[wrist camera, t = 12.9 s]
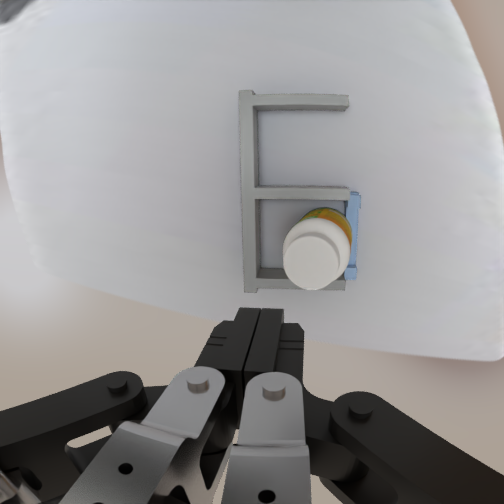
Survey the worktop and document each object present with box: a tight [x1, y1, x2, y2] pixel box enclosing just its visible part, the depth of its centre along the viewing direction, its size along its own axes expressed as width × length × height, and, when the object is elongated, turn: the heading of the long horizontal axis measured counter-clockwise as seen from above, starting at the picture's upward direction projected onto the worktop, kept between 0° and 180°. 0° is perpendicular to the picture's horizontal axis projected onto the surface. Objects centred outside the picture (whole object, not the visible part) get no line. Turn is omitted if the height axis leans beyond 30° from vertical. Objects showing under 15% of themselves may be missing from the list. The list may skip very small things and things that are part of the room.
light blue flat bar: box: [343, 192, 361, 280], centre depth 30 cm, size 8×1×2 cm, turn 1°
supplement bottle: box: [283, 207, 352, 290], centre depth 26 cm, size 5×5×10 cm
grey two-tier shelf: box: [239, 90, 350, 293], centre depth 29 cm, size 19×10×3 cm, turn 1°
